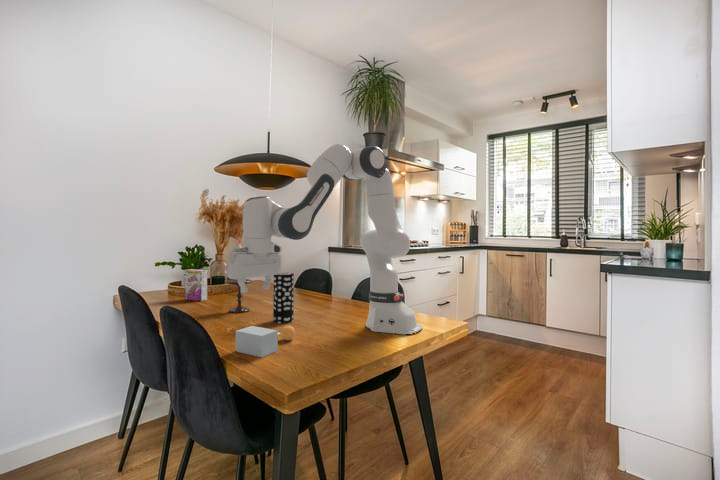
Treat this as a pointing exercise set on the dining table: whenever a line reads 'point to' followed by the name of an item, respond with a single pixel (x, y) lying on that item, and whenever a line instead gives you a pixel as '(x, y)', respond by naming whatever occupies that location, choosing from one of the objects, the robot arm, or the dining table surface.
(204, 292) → the candy bar box
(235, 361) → the dining table surface
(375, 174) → the robot arm
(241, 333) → the light grey rectangular block
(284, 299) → the white-spotted black cylinder
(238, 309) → the candlestick
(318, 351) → the dining table surface
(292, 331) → the ball
